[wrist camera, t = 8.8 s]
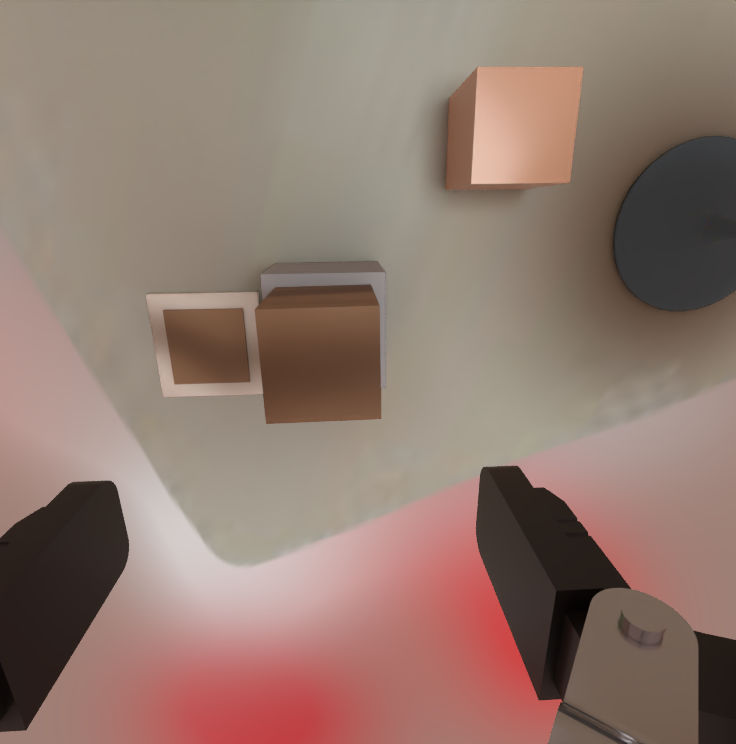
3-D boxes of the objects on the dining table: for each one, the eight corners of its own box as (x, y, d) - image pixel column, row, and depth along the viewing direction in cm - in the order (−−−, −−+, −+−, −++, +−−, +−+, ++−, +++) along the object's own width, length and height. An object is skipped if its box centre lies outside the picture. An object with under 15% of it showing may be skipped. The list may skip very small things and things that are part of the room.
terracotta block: (448, 98, 27) (477, 66, 21) (533, 98, 27) (583, 67, 21) (445, 190, 28) (471, 183, 23) (524, 189, 29) (569, 182, 23)
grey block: (276, 262, 29) (260, 274, 24) (377, 261, 30) (385, 272, 24) (283, 359, 31) (270, 391, 26) (377, 357, 32) (385, 388, 26)
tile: (148, 293, 29) (143, 295, 29) (258, 291, 30) (256, 293, 29) (165, 395, 32) (161, 398, 31) (267, 391, 32) (265, 395, 31)
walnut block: (275, 287, 24) (254, 309, 18) (370, 284, 24) (379, 305, 18) (283, 377, 26) (266, 423, 20) (372, 373, 26) (381, 418, 20)
